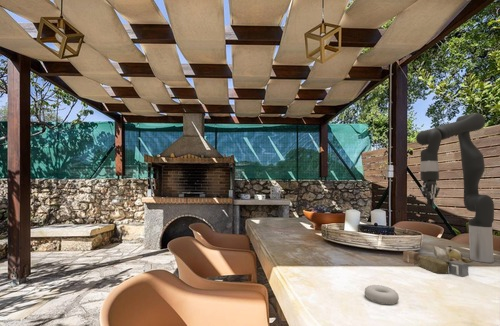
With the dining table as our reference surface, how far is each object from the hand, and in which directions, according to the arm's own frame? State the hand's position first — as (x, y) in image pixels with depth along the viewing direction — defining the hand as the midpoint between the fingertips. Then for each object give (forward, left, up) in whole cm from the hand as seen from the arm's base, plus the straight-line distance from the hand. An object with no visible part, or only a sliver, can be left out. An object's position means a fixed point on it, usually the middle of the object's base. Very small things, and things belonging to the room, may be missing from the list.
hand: (430, 206), depth 132 cm
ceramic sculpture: (-11, +3, -27) cm, 30 cm away
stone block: (+8, +5, -27) cm, 29 cm away
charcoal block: (+5, +14, -27) cm, 31 cm away
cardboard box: (+6, -6, -27) cm, 28 cm away
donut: (+58, +17, -28) cm, 66 cm away
